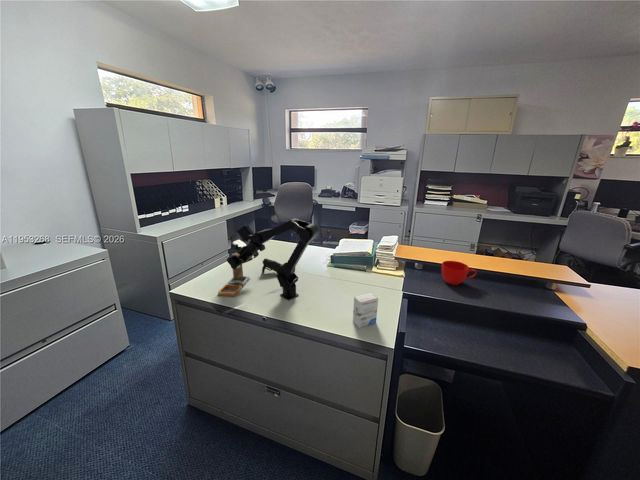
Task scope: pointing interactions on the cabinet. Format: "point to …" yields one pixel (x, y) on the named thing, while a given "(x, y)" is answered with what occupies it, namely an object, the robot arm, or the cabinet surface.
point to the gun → (270, 265)
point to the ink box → (365, 309)
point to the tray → (233, 287)
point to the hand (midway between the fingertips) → (235, 265)
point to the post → (237, 270)
